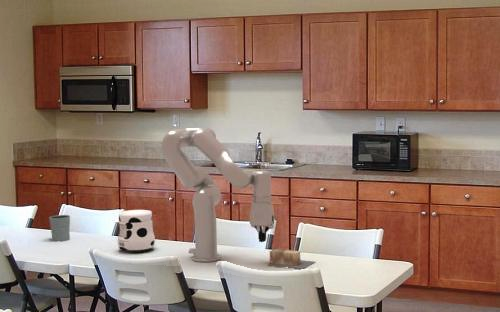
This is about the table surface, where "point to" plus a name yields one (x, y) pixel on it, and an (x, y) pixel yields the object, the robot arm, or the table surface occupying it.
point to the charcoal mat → (301, 265)
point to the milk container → (135, 231)
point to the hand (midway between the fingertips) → (262, 241)
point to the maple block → (285, 257)
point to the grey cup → (60, 227)
